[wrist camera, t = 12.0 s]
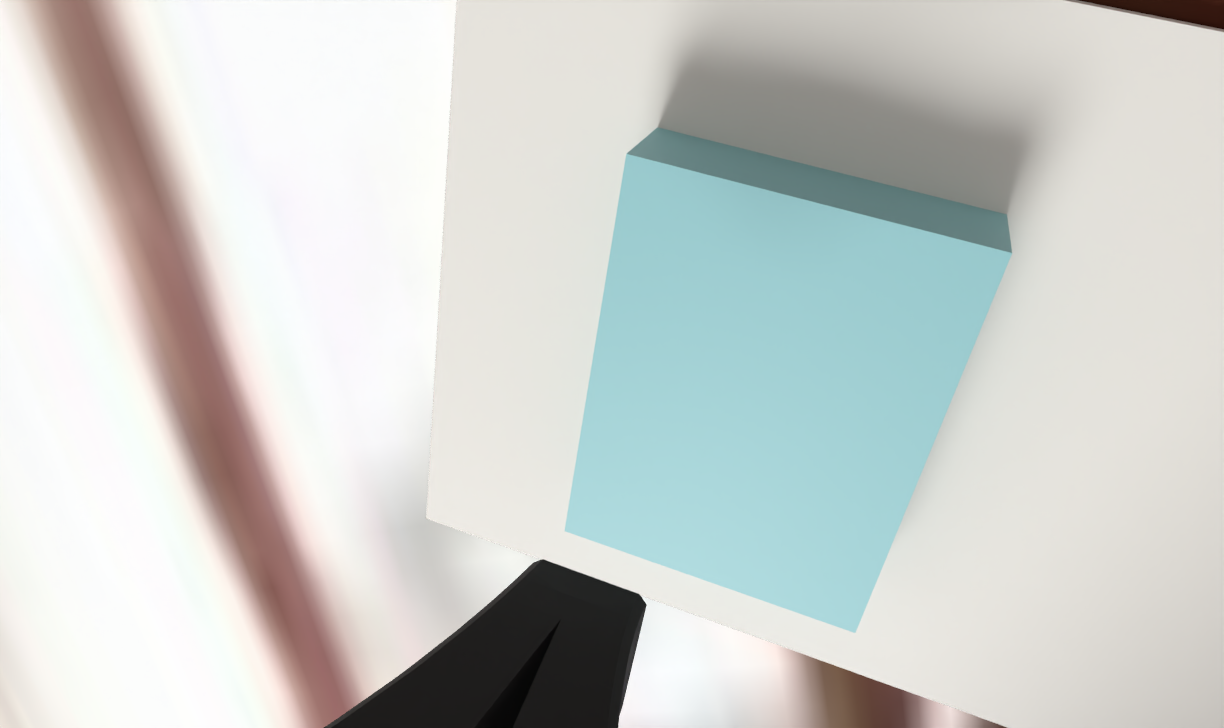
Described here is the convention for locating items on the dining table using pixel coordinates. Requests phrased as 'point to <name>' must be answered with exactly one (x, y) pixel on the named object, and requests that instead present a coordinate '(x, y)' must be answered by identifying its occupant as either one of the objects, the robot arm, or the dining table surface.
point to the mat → (999, 362)
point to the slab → (774, 368)
